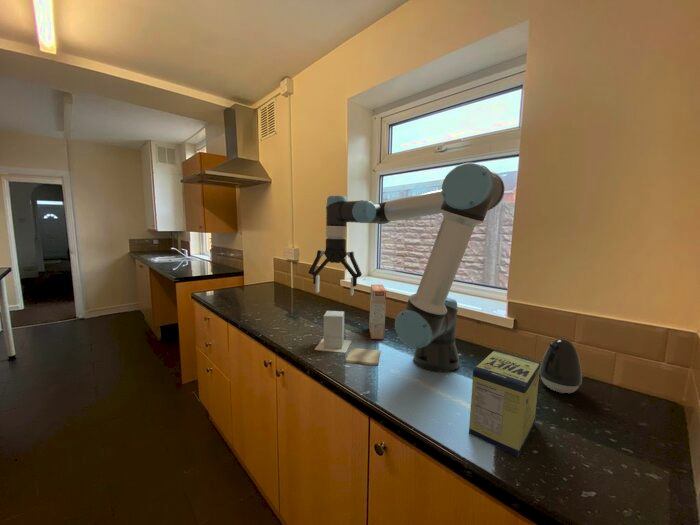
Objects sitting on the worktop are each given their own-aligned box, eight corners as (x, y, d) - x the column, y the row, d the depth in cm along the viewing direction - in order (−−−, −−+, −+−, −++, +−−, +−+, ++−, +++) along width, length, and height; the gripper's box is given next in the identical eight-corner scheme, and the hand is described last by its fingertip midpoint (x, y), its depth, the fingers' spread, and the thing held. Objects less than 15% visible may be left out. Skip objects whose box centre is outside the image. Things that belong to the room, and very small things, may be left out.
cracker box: (384, 340, 124) (386, 290, 122) (370, 339, 124) (372, 290, 122) (382, 328, 138) (383, 284, 136) (368, 328, 138) (370, 283, 136)
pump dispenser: (529, 383, 91) (534, 335, 90) (553, 378, 95) (558, 331, 93) (563, 401, 82) (569, 348, 80) (588, 394, 86) (594, 343, 84)
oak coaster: (380, 352, 111) (380, 350, 111) (377, 365, 101) (378, 363, 100) (351, 349, 113) (351, 347, 113) (345, 362, 103) (345, 359, 102)
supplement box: (344, 341, 120) (345, 311, 119) (342, 349, 113) (342, 316, 112) (326, 340, 121) (326, 310, 120) (322, 347, 114) (323, 315, 112)
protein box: (535, 423, 72) (541, 361, 71) (519, 458, 61) (526, 386, 59) (489, 405, 79) (494, 348, 77) (467, 434, 68) (472, 368, 66)
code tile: (351, 341, 122) (351, 340, 122) (345, 352, 110) (345, 352, 110) (323, 338, 124) (323, 338, 124) (314, 349, 112) (314, 349, 112)
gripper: (370, 239, 114) (368, 293, 116) (307, 236, 118) (306, 289, 121) (367, 239, 107) (365, 298, 109) (300, 237, 111) (300, 293, 114)
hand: (334, 293), depth 115 cm, fingers open, 13 cm apart
